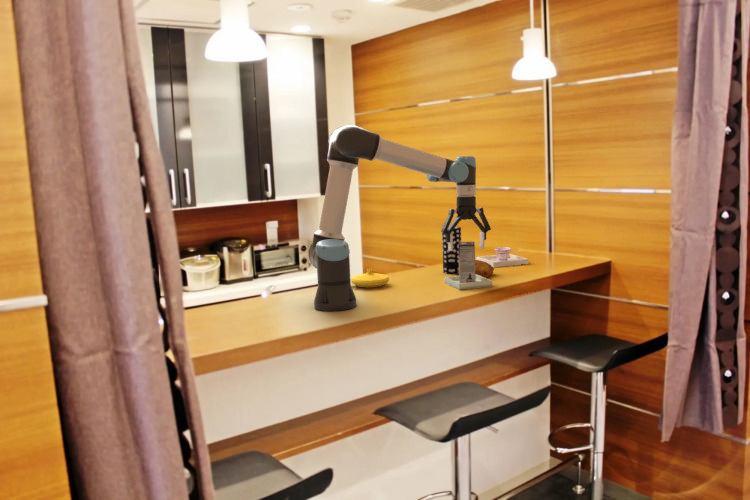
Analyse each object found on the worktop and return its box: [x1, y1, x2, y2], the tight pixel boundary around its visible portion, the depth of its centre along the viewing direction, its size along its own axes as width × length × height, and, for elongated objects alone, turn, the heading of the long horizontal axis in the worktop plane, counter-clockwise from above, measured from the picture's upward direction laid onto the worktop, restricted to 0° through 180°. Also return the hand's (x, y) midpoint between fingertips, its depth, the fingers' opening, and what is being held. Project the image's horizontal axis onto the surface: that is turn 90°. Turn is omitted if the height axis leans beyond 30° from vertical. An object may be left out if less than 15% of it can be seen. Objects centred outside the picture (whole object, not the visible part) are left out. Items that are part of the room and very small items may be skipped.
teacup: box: [491, 246, 516, 262], centre depth 295 cm, size 12×12×6 cm
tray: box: [444, 274, 493, 291], centre depth 248 cm, size 14×15×2 cm
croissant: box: [458, 259, 495, 278], centre depth 266 cm, size 14×16×8 cm
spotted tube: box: [441, 226, 462, 275], centre depth 274 cm, size 8×8×20 cm
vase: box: [350, 268, 390, 288], centre depth 254 cm, size 16×16×7 cm
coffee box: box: [458, 241, 476, 283], centre depth 247 cm, size 9×6×16 cm
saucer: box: [475, 253, 530, 268], centre depth 294 cm, size 18×18×2 cm
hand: (466, 249), depth 246 cm, fingers open, 13 cm apart
